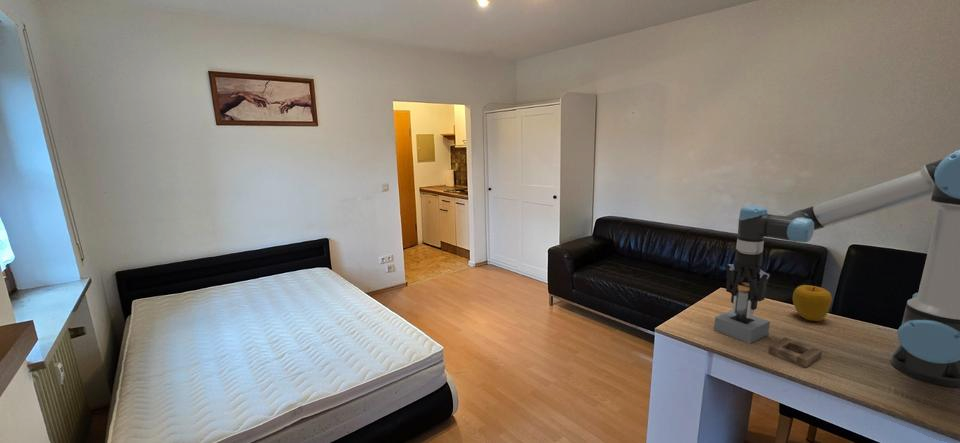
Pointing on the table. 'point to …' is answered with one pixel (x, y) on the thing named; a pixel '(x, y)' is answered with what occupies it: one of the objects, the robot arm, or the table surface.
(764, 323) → the socket
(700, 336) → the table surface
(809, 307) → the apple
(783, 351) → the mount
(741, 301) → the pin
